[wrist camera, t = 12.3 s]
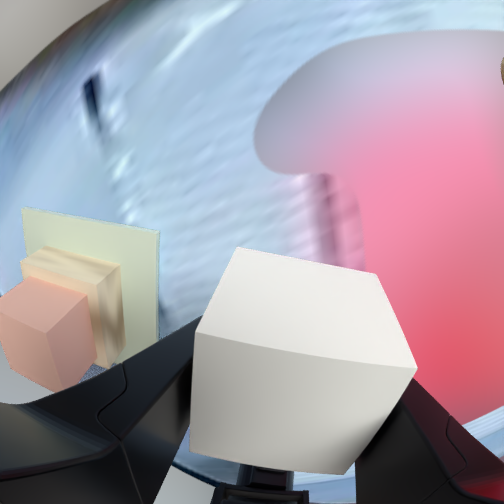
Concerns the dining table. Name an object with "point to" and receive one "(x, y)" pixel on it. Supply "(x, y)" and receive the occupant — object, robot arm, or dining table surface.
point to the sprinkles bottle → (502, 70)
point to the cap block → (295, 365)
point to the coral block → (47, 333)
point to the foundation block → (94, 285)
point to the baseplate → (113, 250)
